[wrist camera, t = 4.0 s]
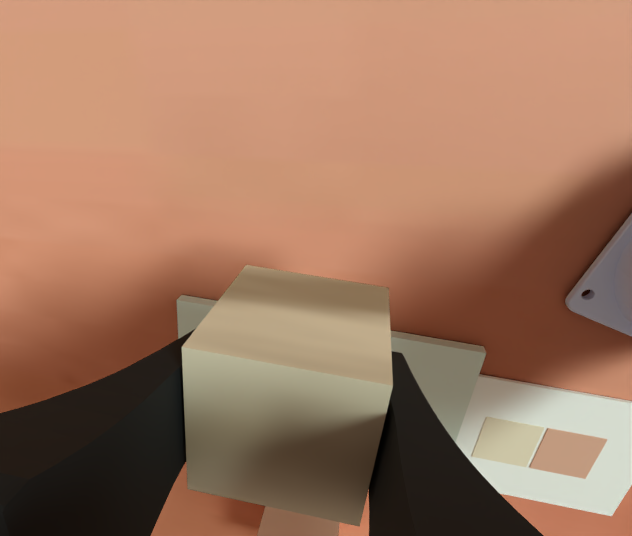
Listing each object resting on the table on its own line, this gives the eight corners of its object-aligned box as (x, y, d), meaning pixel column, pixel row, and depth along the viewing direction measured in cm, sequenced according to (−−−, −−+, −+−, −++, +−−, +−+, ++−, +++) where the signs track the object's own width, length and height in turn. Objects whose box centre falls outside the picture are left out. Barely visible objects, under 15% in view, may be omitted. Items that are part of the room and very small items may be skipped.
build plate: (181, 294, 21) (176, 299, 21) (483, 346, 20) (486, 353, 19) (187, 441, 26) (183, 449, 25) (433, 492, 24) (434, 501, 24)
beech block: (246, 264, 12) (181, 346, 8) (388, 287, 12) (392, 385, 8) (242, 377, 14) (187, 489, 10) (365, 400, 14) (359, 526, 10)
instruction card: (452, 369, 21) (453, 372, 20) (675, 408, 20) (679, 412, 19) (419, 474, 24) (420, 477, 24) (609, 512, 23) (612, 517, 23)
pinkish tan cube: (275, 470, 26) (255, 540, 22) (343, 484, 26) (336, 557, 21) (271, 514, 28) (252, 586, 24) (334, 528, 27) (326, 603, 23)
